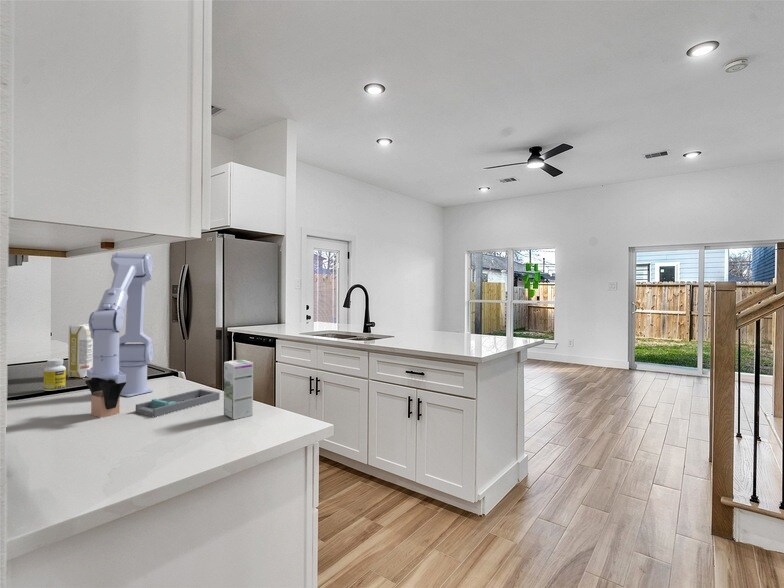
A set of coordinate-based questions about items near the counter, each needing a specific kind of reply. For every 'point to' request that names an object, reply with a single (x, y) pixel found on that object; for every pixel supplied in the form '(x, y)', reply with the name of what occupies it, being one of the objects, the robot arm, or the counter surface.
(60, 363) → the supplement bottle
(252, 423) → the counter surface
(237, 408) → the syrup box
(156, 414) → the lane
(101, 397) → the tan cardboard cube box
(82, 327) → the juice carton
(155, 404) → the pusher
